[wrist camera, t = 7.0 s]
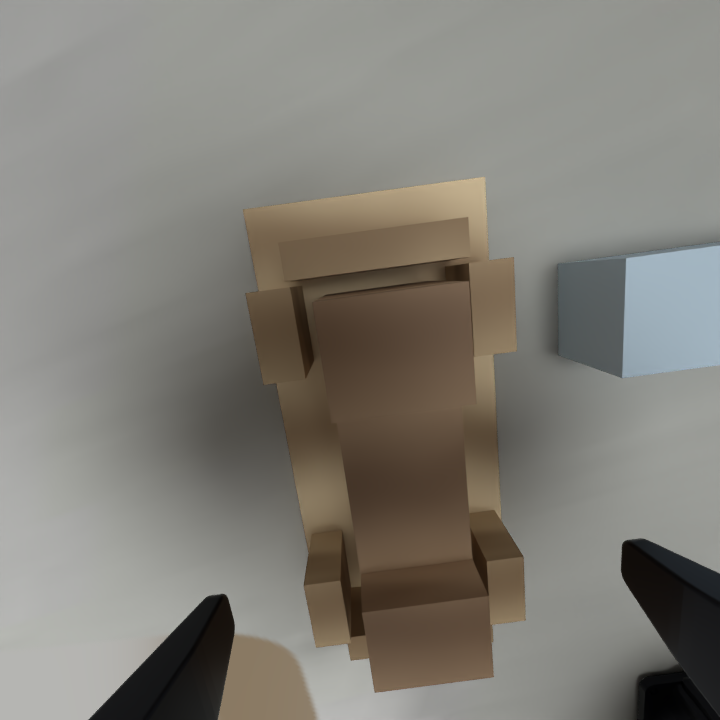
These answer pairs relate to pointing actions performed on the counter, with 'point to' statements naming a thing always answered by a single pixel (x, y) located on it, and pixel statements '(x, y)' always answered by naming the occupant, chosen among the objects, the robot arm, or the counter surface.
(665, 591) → the robot arm
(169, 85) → the counter surface
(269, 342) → the jig
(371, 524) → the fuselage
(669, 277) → the light blue block
